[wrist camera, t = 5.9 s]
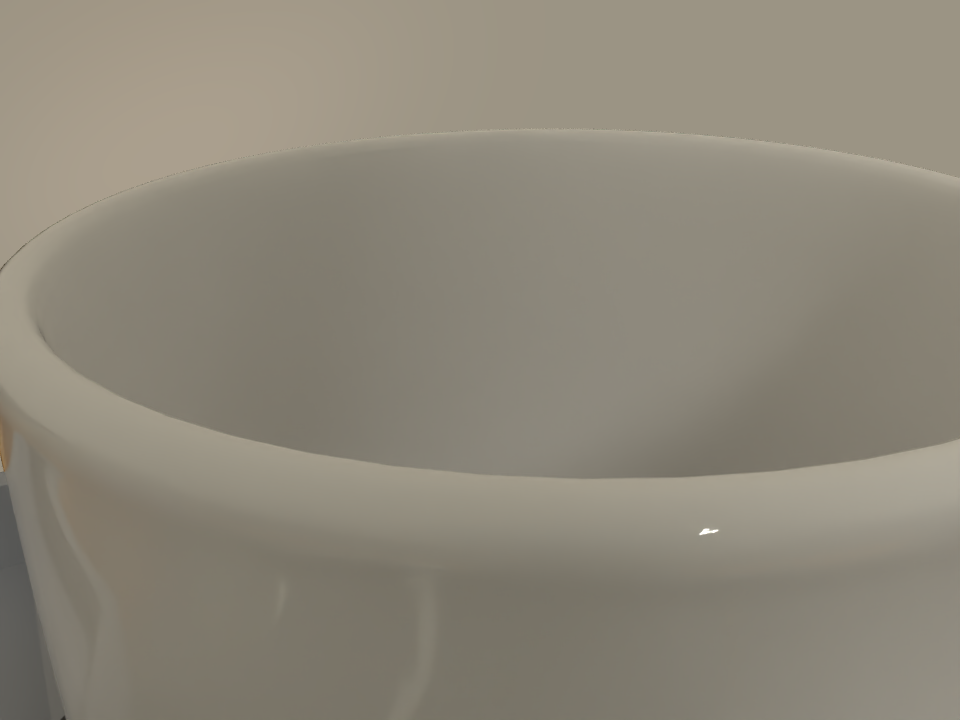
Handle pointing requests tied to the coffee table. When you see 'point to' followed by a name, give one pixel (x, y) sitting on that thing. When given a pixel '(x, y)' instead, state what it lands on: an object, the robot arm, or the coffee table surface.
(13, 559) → the tray
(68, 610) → the white cup
